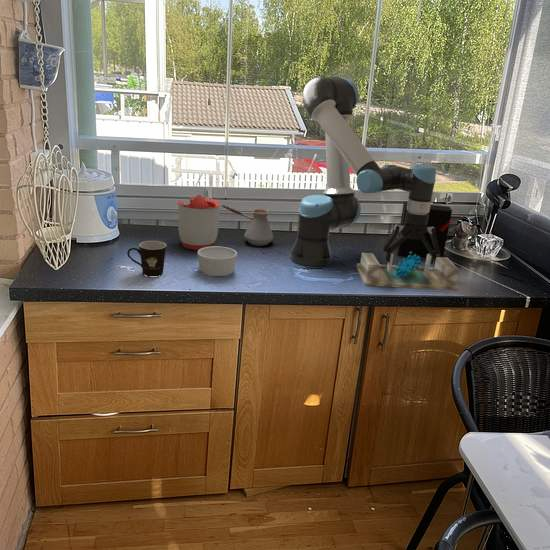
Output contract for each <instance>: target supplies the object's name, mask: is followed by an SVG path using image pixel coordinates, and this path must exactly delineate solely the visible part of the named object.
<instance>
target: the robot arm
mask: <svg viewBox="0 0 550 550" xmlns="http://www.w3.org/2000/svg"><path fill="white" fill-rule="evenodd" d="M359 97H360V96H359V90H358V87H357V85H356V83H354V82H353V80H351V79H349V78H345V77H338V76H335V77H332V76H317V77H314V78H312V79H310V80H309V81H307V82H306V85H305V86H304V88H303V91H302V103H303V106H304V109H305V110H306V113H307V114H308V116H309V117H310V118H311V120H312V121H314V122H317V123H318V125H320V127H321V129H322V130H323V131H324V132H325V134H324V135H325V158H326V159H325V161H326V164H325V165H326V189H325V190H324V191H323V194H312V195H307V196H305V197H303V198H302V199H301V200H300V206H299V208H298V221H297V222H298V223H297V234H296V235H297V236H296V240H295V242H294V244H293V246H292V248H291V251H290V260H291V261H292V262H293V263H296V264H298V265H301V266H305V267H306V266H307V267H325V266H328V265H330V264H331V263H332V252H331V246H330V243H329V237H330V231H331V230H336V229H340V228H347V227H349V226H351V225H353V224H355V223H356V222H357V221H358V219H360V216H361V210H362V208H361V203H360V201H359V199H358V197H356V196H355V190H354V189H353V188H352V187H351V175H350V174H351V171H353V173H354V174H355V175H356V180H355V181H356V185H357V189H358V190H359V191H360V192H361V193H363V194H377V193H381V192H386V191H387V192H388V191H392V190H399V191H402V192H403V191H404V192H407V193H408V198H407V203H408V204H407V210H408V211H407V212H406V216H405V222H404V225H403V226H400V224H398V223H395V224H394V226H393V229H392V232H391V233H390V234H389V236H388V238H387V239H386V240H385V242H384V244H383V245H382V246H381V250H382V251H383V252H385V253H386V254H385V262H386V263H387V264H386V265H387V270H388V272H391V267H392V265H393V259H394V253H393V252H394V251H396V248H397V247H398V246H399V245H400V244H401V243H402V242H404V241H405V240H406V239H408V238H409V239H416V240H418V239H420V238H421V240H422V241H423V243H424V245H425V246H426V248H427V249H428V251H429V253H430V254H427V258H425V263H424V264H425V265H424V267H425V269H424V272H425V273H426V274H429V268H430V267H431V265H433V264H434V262H435V261H434V260H435V259H434V257H435V256H436V255H437V254H438V255H439V254H440V253H441V252H440V249H439V245H438V242H437V238H436V235H435V234H436V229H435V228H434V227H433V226H431V227H427V223H428V217H429V215H428V213H429V211H430V206H431V205H432V200H433V199H432V197H433V192H434V188H435V183H436V175H437V169H436V167H435V166H433V165H429V164H415V165H413V168H408V167H403V166H399V165H396V164H384V165H383V166H381V167H380V166H379V164H378V163H377V161H376V160H375V159H374V158H373V156H372V155H371V154H370V152H369V151H368V149H366V147H365V145H364V144H363V143H362V141H361V140H360V139H359V138H358V135H356V133H355V132H354V130H353V129H352V127H350V125H349V124H350V123H349V122H350V120H351V118H352V117H353V116H354V113H353V112H354V111H353V110H354V109H355V108H356V107H357V106H356V105H358V102H359V99H360V98H359ZM350 170H351V171H350ZM401 230H403V231H404V232H403V233H402V234H401V236H400V237H399V238H398V235H399V232H400V231H401ZM427 231H428V232H429V233H430V236H431V239H432V243H433V246H434V249H435V250H434V251H433V250H432V248H431V246H430V245H429V243H428V242H427V240H426V238H425V237H424V234H425V233H426V232H427ZM396 237H397V239H396ZM395 239H396V240H395Z"/></svg>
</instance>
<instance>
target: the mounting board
mask: <svg viewBox="0 0 550 550" xmlns="http://www.w3.org/2000/svg"><path fill="white" fill-rule="evenodd" d="M434 262H435V263H434V267H433V266H430V268H429V274H426V273H425V272H424V269H425V266H419V268H418V269H417V270H416V269H415V267H414V268H413V269H414V271H415V272H416V273H417V275H416V276H417V277H418V278H419V281H417V279H416V278H415V277H412V275H411V274H408V276H407V277H405V276H404V275H403V277H400V276H399V275H398V276H397V275H396V272H397V271H396V270H395V269H396V267H398V268H400V267H401V266H398V265H395V264H392V267H391V272H388V270H387V264H380V262H379V261H378V259H377V256H375V255H374V253H372V252H361V256H360V262H359V263H358V262H357V263H356V268H355V269H356V271H357V273H358V275H359V277H360V279H361V281H362V282H363V285H364V286H365V285H369V286H368V287H384V286H392V287H391V288H403V287H407V288H406V289H421V290H422V289H424V290H427V289H428V290H443V291H444V290H445V291H446V290H447V291H458V289H459V286H458V285H457V282H458V277H459V272H460V271H459V270H460V269H459V268H458V267H457V265H455V264H454V262H453V261H452V260H451V259H449V258H448V257H444V256H443V257H436V259H435V261H434Z"/></svg>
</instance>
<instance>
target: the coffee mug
mask: <svg viewBox="0 0 550 550" xmlns="http://www.w3.org/2000/svg"><path fill="white" fill-rule="evenodd" d="M132 250H133V251H136V252H137V253H138V254H139V256H140V262H139V261H137V260H136V259H134V258H132V256H130V251H132ZM166 251H167V243H165V242H163V241H159V240H146V241H142V242H141V243H139V244H138V248H136V247H130V248H129V249H128V250H127V256H128V258H129V259H130V260H131V261H132V262H134V263H135V264H136V265H139V266H140V267H141V270H142V275H143V274H145V275H147V276H159V275H162V274H164V267H165V260H166ZM162 276H163V275H162Z"/></svg>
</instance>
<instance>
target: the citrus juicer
mask: <svg viewBox="0 0 550 550" xmlns="http://www.w3.org/2000/svg"><path fill="white" fill-rule="evenodd" d="M177 205H178V208H177V214H178V218H177V219H178V220H177V226H178V227H177V228H178V229H177V230H178V235H179V238H180V243H181V244H182V246H183V247H184V248H186V249H188V250H195V251H197V250H200V249H202V248H205V247H211V246H215V243H216V240H217V237H218V233H219V226H220V206H221V203H220V202H219V201H218V200H215V199H212V198H205V197H203V196H202V195H201V194H197V195H196V196H195V197H190V198H189V203H187V204H184V202H183V201H182V200H178V201H177Z"/></svg>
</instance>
